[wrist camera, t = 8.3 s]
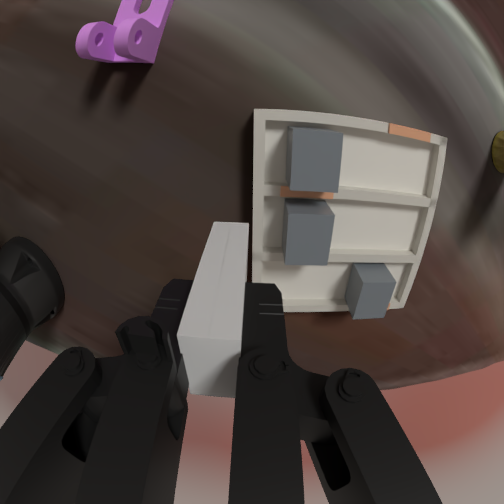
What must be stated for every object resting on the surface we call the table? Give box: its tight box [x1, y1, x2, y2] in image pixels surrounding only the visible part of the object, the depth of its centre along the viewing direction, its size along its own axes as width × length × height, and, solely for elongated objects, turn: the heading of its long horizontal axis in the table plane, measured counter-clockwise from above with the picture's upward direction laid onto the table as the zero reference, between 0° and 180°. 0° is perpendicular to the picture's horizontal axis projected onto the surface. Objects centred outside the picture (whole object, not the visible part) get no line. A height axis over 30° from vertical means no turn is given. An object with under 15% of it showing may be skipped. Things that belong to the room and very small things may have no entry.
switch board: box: [252, 109, 447, 312], centre depth 27 cm, size 20×22×3 cm
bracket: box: [76, 0, 174, 63], centre depth 14 cm, size 13×6×7 cm, turn 166°
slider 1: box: [286, 126, 343, 193], centre depth 22 cm, size 4×5×4 cm
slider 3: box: [344, 262, 397, 319], centre depth 29 cm, size 4×5×4 cm
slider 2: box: [282, 198, 335, 266], centre depth 25 cm, size 4×5×4 cm
